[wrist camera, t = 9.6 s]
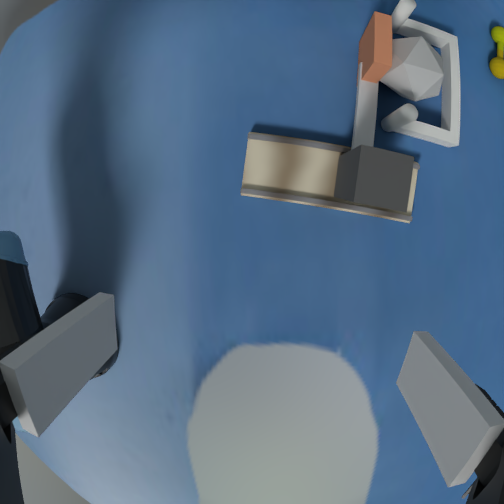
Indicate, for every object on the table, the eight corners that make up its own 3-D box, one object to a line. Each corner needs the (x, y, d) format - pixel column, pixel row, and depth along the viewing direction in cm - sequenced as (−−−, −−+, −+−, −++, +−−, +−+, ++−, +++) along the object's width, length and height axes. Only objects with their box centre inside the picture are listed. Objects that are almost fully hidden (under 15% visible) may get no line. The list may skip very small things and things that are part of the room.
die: (391, 39, 33) (368, 23, 26) (451, 52, 28) (444, 37, 22) (386, 92, 38) (363, 89, 31) (444, 108, 33) (437, 108, 27)
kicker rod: (332, 196, 38) (353, 202, 25) (348, 39, 33) (368, -10, 20) (369, 203, 38) (406, 212, 25) (383, 48, 33) (415, 3, 20)
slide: (241, 194, 40) (240, 195, 38) (250, 133, 38) (248, 131, 36) (406, 222, 38) (411, 223, 36) (415, 163, 36) (420, 162, 34)
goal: (380, 130, 36) (400, 118, 28) (384, 20, 32) (400, -6, 24) (448, 149, 35) (478, 143, 27) (448, 42, 31) (472, 22, 23)
